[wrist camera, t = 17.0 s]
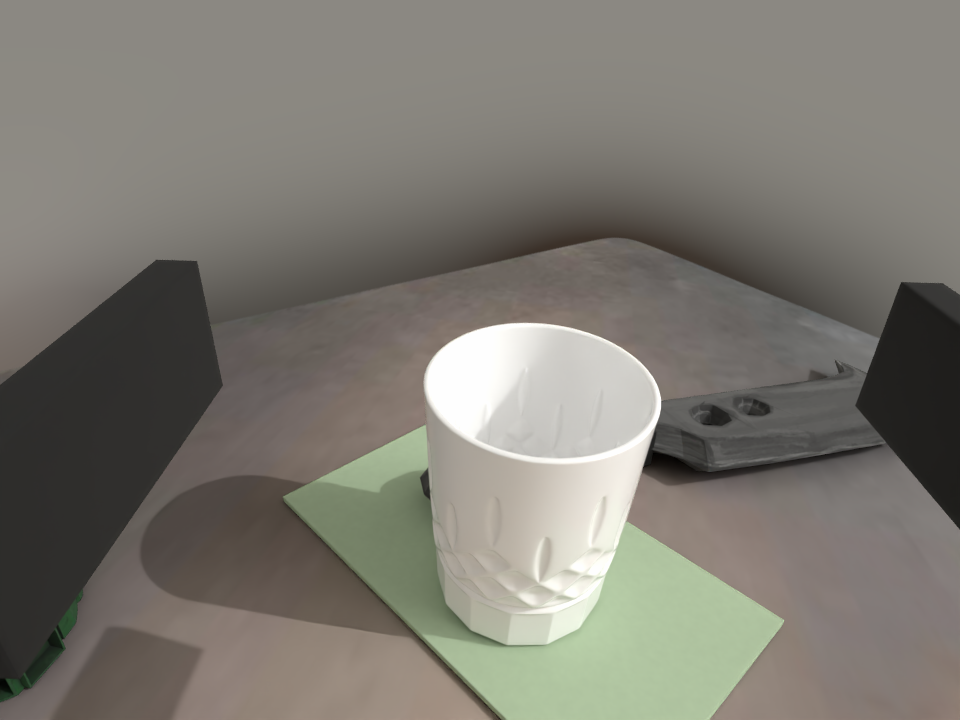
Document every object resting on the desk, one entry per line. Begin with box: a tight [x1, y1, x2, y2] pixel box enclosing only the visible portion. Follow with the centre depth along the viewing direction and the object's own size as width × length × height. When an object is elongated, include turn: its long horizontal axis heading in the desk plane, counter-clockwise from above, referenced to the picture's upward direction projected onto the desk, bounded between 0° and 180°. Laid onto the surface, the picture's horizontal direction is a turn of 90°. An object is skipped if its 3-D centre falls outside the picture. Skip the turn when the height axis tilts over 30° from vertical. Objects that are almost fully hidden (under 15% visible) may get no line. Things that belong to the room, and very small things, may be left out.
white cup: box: [424, 323, 661, 645], centre depth 25 cm, size 8×8×10 cm
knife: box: [420, 360, 886, 501], centre depth 36 cm, size 9×2×30 cm
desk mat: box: [283, 425, 784, 720], centre depth 29 cm, size 20×11×1 cm, turn 44°
